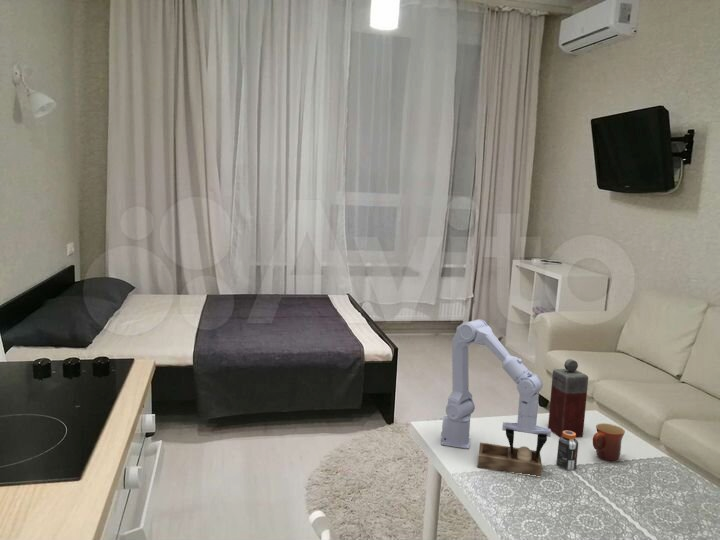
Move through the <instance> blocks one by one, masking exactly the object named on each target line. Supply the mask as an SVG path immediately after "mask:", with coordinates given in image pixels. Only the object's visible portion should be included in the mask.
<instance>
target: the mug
mask: <svg viewBox="0 0 720 540" xmlns="http://www.w3.org/2000/svg"><path fill="white" fill-rule="evenodd" d="M595 427H596V428H595V429H596V432H595V433H594V435H593V436H592V446H593V449H594V450H595V453H596V456H597V457H598V458H599V459H600V460H602V461H605V462H611V463H613V462H617V461H619V460H620V457H621V452H622V451H621V450H622V441H623V437H624V435H625V432H626V431H625V430H624V428H622V427H620V426H617V425H615V424H611V423H605V422H604V423H602V422H601V423H598V424H596V425H595Z"/></svg>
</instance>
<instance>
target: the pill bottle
mask: <svg viewBox="0 0 720 540" xmlns="http://www.w3.org/2000/svg"><path fill="white" fill-rule="evenodd" d="M557 443H558V445H557V454H556V456H557V457H556V465H557V467H559V468H561V469H563V468H564V469H563V470H568V471H573V470H575V469H576V468H577V463H578V452H579V441H578V440H577V438H576V433H574V432H572V431H567V430H565V431H563V434H562V437H558V442H557Z"/></svg>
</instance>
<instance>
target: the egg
mask: <svg viewBox="0 0 720 540" xmlns="http://www.w3.org/2000/svg"><path fill="white" fill-rule="evenodd" d="M518 448H519V449H518V451H517V460H520V461H526V462H531V457H532V453H531V450H532V449H530V448H529V447H528V446H525V445H524V446H520V447H518Z"/></svg>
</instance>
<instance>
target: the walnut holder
mask: <svg viewBox="0 0 720 540" xmlns="http://www.w3.org/2000/svg"><path fill="white" fill-rule="evenodd" d="M519 448H520V447H514V446H513V454H511V449H510V446H506V445H501V444H492V443H486V442H479V448H478V449H479V450H478V456H477V457H478V459H477V460H478V461H477V468H479V469H484V470H491V471H495V472H497V471H498V472H502V471H506V472H505V473H508V472H514V473H513V474H515V473H522V474H530V475H536V476H541V477H542V469H543V465H542V457H541V452H540V453H539V457H538V458H536V450H533V449H530V450H531V453H532V457H531V462H526V461H520V460H517V451H518V449H519Z"/></svg>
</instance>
